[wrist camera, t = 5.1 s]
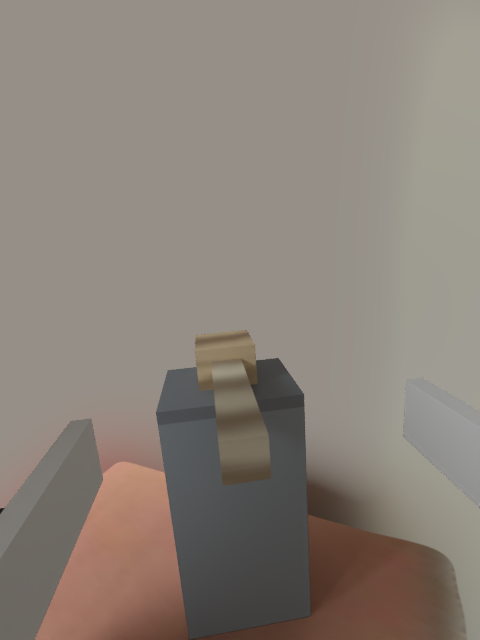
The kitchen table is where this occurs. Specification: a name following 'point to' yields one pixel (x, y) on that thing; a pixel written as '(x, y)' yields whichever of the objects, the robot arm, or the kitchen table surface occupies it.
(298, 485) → the lidded box
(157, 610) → the kitchen table surface
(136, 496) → the kitchen table surface
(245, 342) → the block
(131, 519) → the kitchen table surface
